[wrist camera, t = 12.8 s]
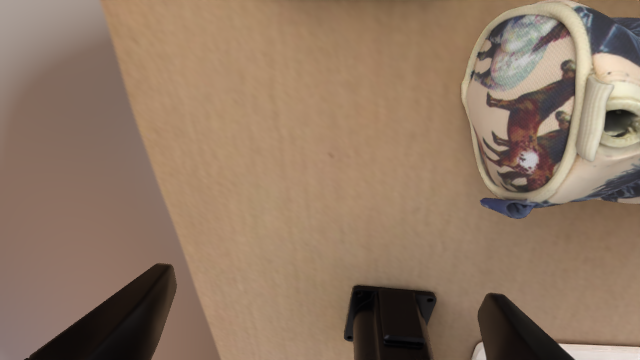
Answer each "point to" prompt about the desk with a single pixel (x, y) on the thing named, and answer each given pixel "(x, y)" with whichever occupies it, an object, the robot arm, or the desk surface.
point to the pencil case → (555, 107)
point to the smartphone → (584, 352)
